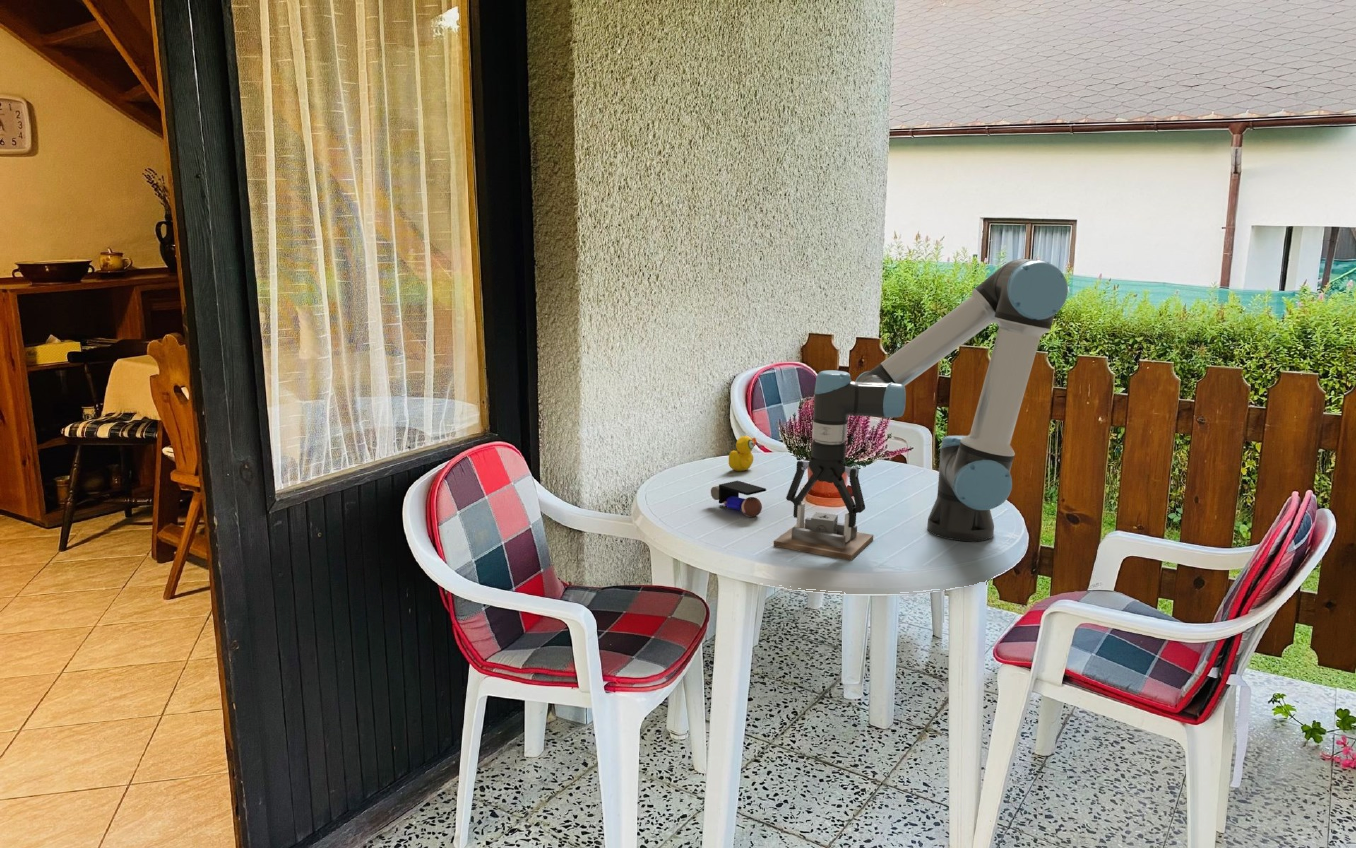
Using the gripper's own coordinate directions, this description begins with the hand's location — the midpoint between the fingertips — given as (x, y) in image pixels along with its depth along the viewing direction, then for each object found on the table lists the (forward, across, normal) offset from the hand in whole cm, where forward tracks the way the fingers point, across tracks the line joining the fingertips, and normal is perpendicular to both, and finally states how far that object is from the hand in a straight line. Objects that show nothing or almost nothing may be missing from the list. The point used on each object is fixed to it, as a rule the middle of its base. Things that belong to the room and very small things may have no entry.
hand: (823, 536), depth 212 cm
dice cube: (+1, 0, 0) cm, 1 cm away
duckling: (+2, -43, +50) cm, 66 cm away
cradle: (+2, 0, 0) cm, 2 cm away
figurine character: (+2, -27, +12) cm, 29 cm away
